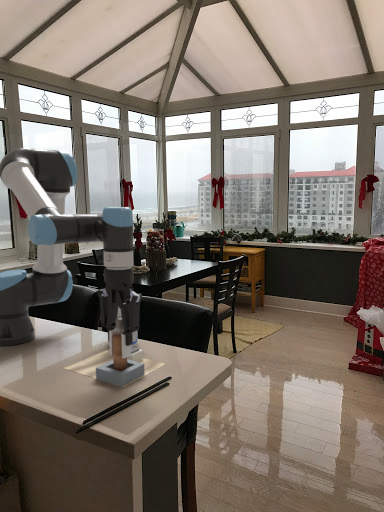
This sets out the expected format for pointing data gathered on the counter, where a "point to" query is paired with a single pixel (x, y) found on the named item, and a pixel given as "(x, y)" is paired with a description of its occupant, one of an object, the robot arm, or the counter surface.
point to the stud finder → (136, 354)
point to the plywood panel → (91, 363)
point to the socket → (120, 373)
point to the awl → (118, 347)
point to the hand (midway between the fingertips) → (120, 354)
